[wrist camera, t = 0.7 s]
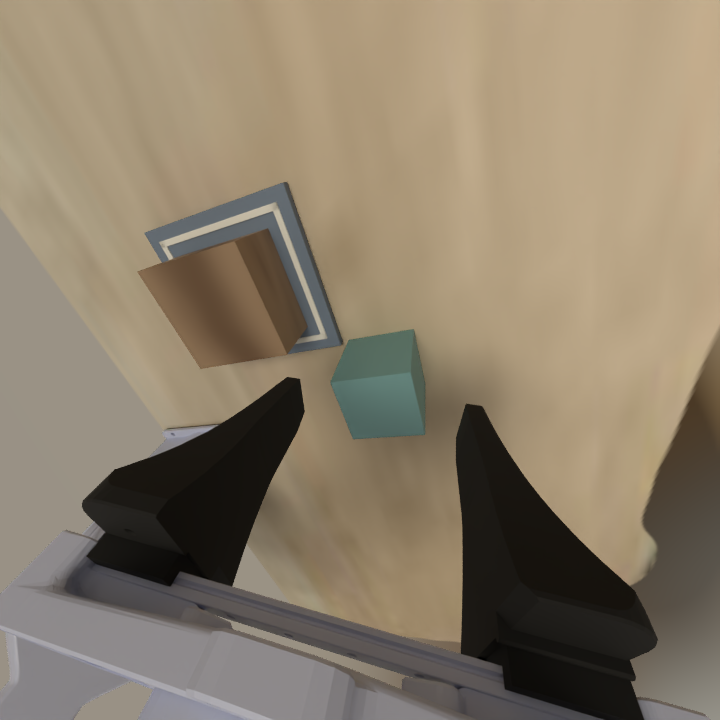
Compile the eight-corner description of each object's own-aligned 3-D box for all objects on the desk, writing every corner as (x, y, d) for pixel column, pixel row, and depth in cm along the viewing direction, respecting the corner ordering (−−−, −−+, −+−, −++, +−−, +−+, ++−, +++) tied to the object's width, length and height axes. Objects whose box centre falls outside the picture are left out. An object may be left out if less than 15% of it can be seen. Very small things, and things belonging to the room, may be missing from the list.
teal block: (366, 390, 25) (353, 439, 21) (348, 339, 23) (330, 382, 18) (425, 383, 24) (425, 434, 19) (413, 328, 21) (410, 372, 17)
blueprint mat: (227, 360, 26) (222, 365, 26) (150, 231, 21) (143, 233, 20) (342, 341, 23) (340, 345, 22) (286, 182, 18) (282, 182, 17)
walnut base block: (231, 341, 24) (200, 368, 21) (182, 254, 21) (137, 271, 18) (307, 326, 22) (287, 354, 19) (268, 228, 19) (234, 241, 15)
